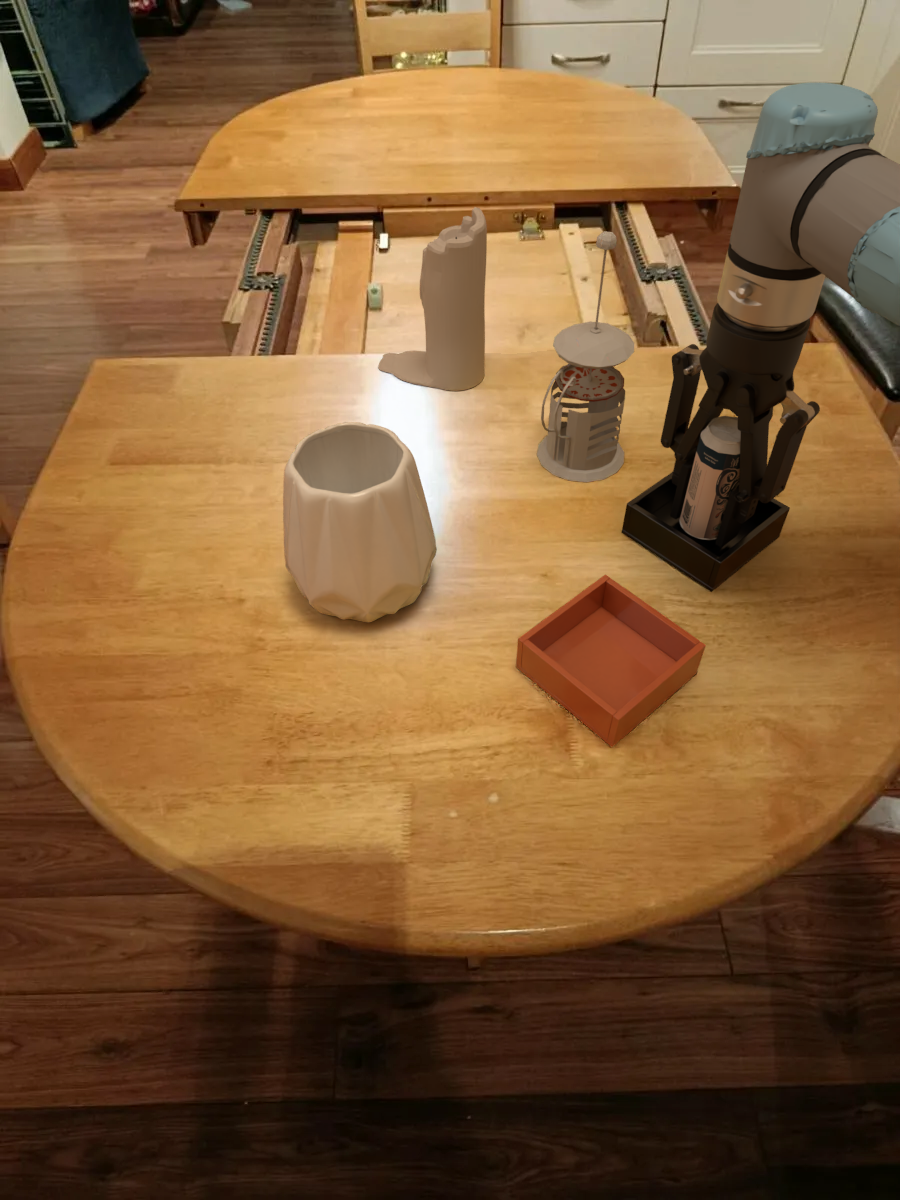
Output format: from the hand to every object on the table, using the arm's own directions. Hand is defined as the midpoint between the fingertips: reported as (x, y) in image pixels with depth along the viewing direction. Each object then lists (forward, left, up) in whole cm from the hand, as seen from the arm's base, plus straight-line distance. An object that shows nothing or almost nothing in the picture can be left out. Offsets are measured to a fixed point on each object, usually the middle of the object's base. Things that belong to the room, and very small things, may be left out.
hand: (703, 524), depth 85 cm
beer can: (0, 0, -1) cm, 1 cm away
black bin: (0, 0, -2) cm, 2 cm away
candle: (+41, 0, -2) cm, 41 cm away
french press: (+17, 0, -2) cm, 17 cm away
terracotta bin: (-5, +20, -2) cm, 21 cm away
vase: (+18, +29, -2) cm, 34 cm away
